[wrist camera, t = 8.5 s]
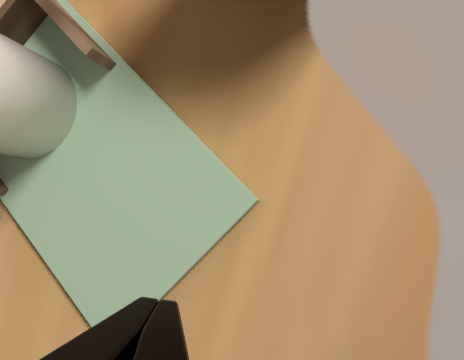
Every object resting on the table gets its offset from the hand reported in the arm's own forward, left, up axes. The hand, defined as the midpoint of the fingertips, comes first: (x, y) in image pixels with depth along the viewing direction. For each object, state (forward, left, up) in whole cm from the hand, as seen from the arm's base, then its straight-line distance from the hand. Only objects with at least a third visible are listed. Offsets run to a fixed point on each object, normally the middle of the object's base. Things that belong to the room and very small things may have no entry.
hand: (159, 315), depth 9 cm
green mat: (+11, +9, -13) cm, 19 cm away
